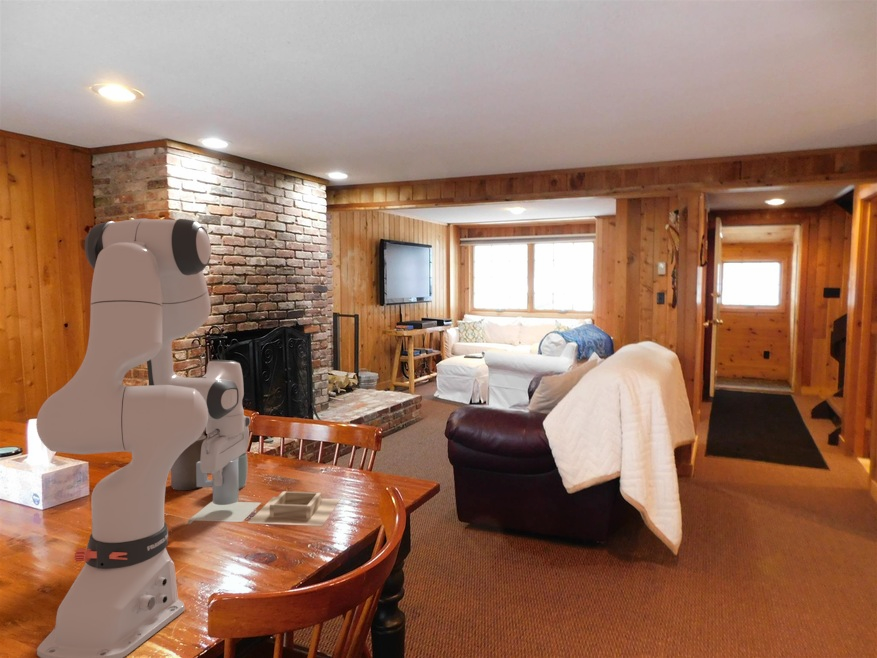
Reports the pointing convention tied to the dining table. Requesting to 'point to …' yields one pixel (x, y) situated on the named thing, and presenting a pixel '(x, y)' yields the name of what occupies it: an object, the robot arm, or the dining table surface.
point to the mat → (225, 512)
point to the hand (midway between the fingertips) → (225, 480)
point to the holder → (296, 509)
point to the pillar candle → (187, 467)
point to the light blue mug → (225, 492)
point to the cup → (242, 470)
